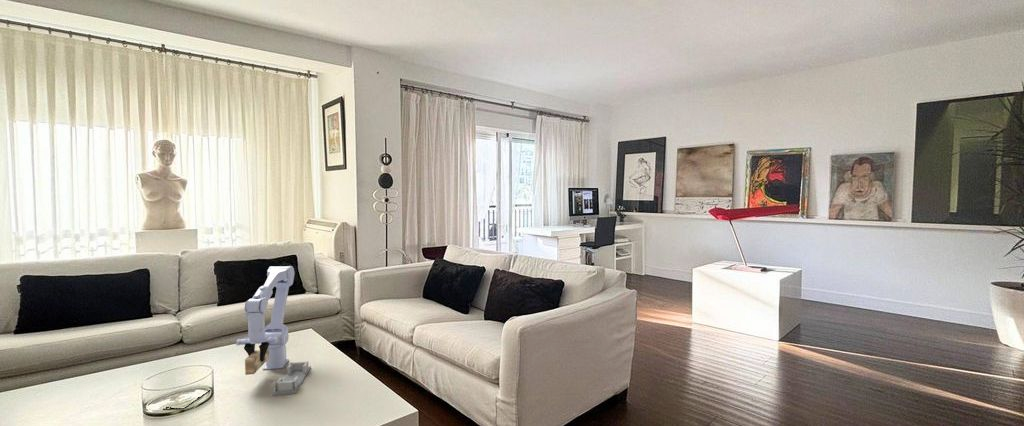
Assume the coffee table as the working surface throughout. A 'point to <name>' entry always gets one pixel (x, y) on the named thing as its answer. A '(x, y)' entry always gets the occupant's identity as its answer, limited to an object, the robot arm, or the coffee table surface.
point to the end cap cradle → (292, 379)
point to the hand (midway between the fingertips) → (257, 361)
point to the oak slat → (255, 361)
